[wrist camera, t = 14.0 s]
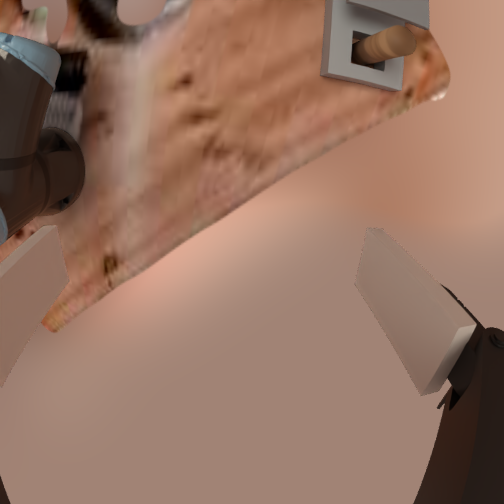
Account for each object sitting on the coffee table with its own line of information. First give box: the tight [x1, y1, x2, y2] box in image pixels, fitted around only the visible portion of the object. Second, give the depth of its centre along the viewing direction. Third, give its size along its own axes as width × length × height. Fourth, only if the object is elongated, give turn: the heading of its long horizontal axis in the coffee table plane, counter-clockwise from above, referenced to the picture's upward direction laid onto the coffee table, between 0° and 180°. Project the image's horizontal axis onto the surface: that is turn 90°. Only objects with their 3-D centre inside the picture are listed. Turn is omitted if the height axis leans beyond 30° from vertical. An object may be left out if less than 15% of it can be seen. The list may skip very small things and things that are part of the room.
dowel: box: [351, 25, 416, 66], centre depth 32 cm, size 4×4×14 cm
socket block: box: [320, 0, 429, 91], centre depth 32 cm, size 12×16×11 cm
